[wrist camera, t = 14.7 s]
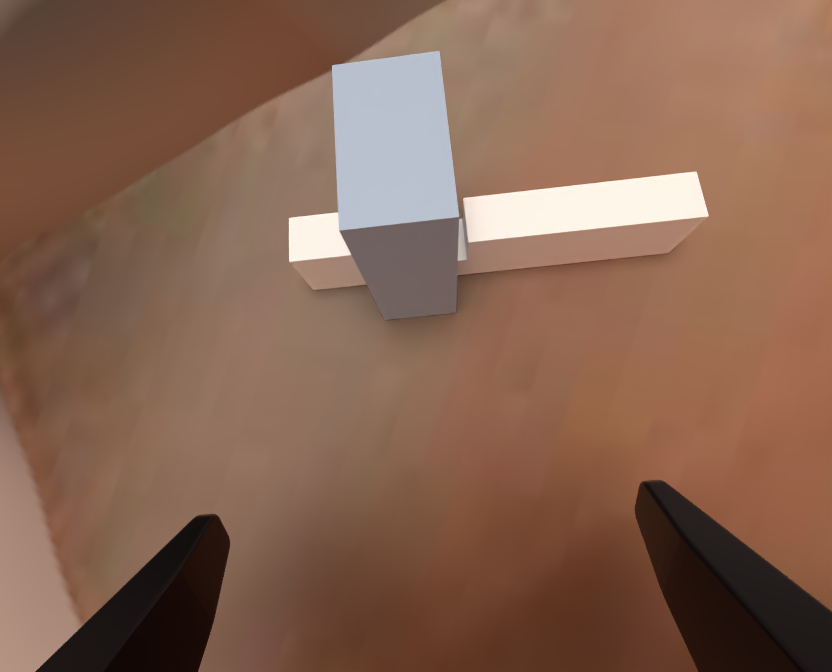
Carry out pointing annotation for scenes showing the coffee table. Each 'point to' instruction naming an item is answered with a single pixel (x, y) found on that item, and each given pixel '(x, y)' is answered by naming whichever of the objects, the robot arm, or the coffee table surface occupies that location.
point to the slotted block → (397, 182)
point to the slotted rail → (531, 228)
